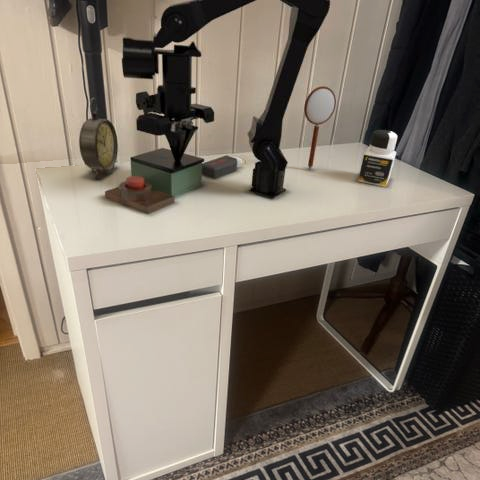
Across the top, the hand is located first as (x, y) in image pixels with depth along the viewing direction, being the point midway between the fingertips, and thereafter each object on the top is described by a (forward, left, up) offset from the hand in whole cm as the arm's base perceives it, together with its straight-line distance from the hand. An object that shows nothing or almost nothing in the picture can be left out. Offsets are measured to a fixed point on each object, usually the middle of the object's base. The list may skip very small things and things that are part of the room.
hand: (177, 160), depth 101 cm
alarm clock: (+19, +5, -6) cm, 21 cm away
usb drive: (0, -17, -6) cm, 18 cm away
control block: (+1, +11, -6) cm, 13 cm away
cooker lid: (+3, 0, -1) cm, 3 cm away
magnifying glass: (-16, -35, -6) cm, 39 cm away
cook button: (+1, +12, -3) cm, 12 cm away
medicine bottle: (-32, -40, -6) cm, 52 cm away
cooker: (+3, 0, -6) cm, 7 cm away
